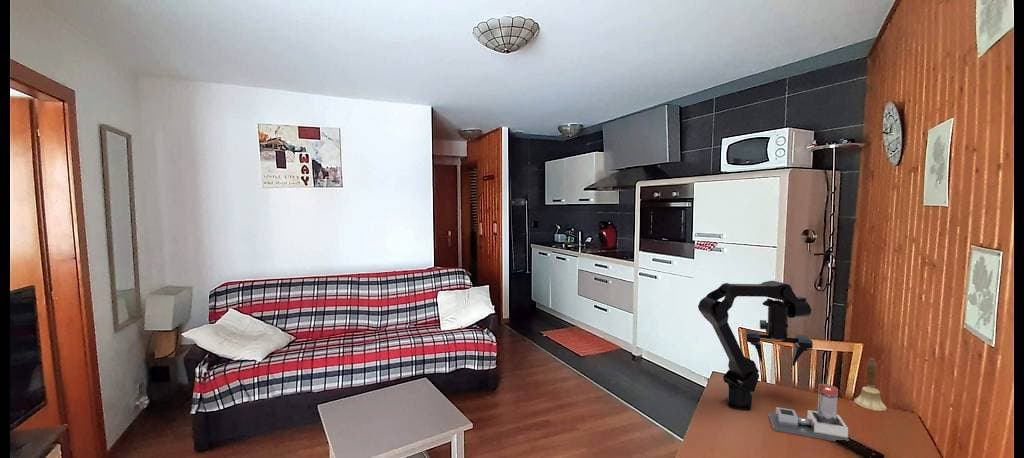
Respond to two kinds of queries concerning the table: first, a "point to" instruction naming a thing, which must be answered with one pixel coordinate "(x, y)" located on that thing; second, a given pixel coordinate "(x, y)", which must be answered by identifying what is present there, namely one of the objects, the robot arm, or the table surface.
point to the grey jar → (827, 404)
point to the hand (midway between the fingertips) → (776, 363)
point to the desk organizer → (808, 425)
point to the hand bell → (870, 391)
